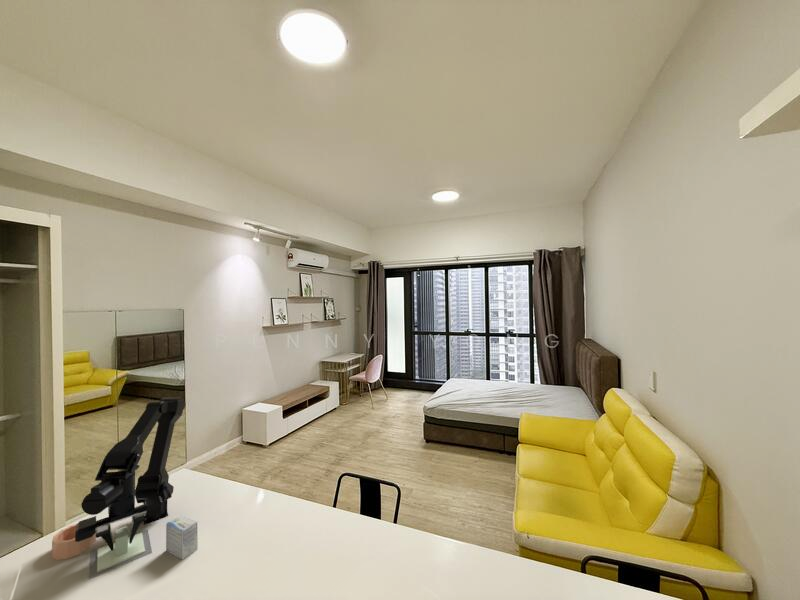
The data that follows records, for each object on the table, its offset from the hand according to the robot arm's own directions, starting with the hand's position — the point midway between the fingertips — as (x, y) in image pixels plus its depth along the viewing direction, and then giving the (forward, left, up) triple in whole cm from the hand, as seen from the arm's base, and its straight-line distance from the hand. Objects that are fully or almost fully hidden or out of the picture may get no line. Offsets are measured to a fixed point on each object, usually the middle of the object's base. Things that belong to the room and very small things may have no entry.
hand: (121, 546), depth 92 cm
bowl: (+10, -11, -2) cm, 15 cm away
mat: (0, 0, -2) cm, 2 cm away
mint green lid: (0, 0, -2) cm, 2 cm away
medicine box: (-13, +11, -2) cm, 17 cm away
